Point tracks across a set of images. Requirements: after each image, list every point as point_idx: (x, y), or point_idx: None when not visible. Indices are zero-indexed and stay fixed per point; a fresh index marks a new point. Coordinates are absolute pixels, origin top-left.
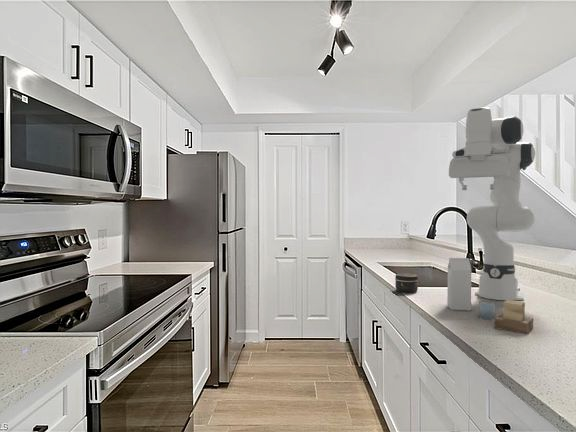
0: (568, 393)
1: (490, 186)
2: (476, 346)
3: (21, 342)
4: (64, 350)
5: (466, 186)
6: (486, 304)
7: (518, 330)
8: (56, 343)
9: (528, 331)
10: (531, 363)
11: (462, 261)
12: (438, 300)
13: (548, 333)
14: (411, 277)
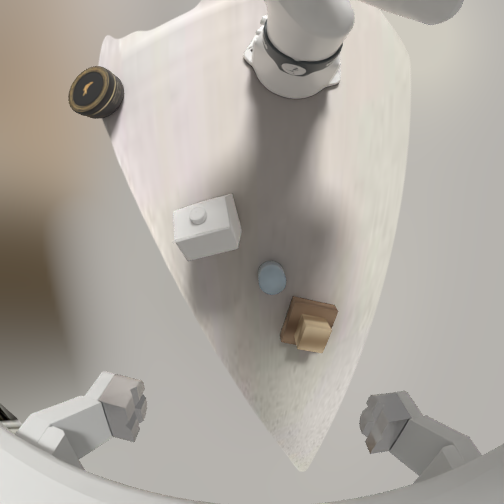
0: (313, 455)
1: (367, 439)
2: (257, 408)
3: None
4: None
5: (132, 414)
6: (271, 293)
7: None
8: None
9: None
10: (302, 426)
11: (210, 233)
12: (172, 154)
13: (346, 328)
14: (99, 105)
